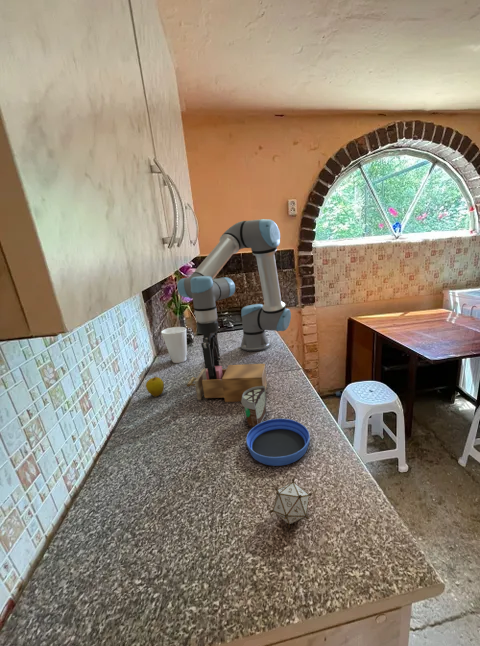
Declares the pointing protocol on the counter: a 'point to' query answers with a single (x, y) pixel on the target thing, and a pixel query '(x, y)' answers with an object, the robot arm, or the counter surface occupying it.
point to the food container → (254, 405)
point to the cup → (176, 343)
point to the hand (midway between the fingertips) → (215, 379)
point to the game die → (291, 503)
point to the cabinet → (242, 380)
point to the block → (218, 372)
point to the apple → (155, 386)
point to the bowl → (278, 441)
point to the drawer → (207, 386)
